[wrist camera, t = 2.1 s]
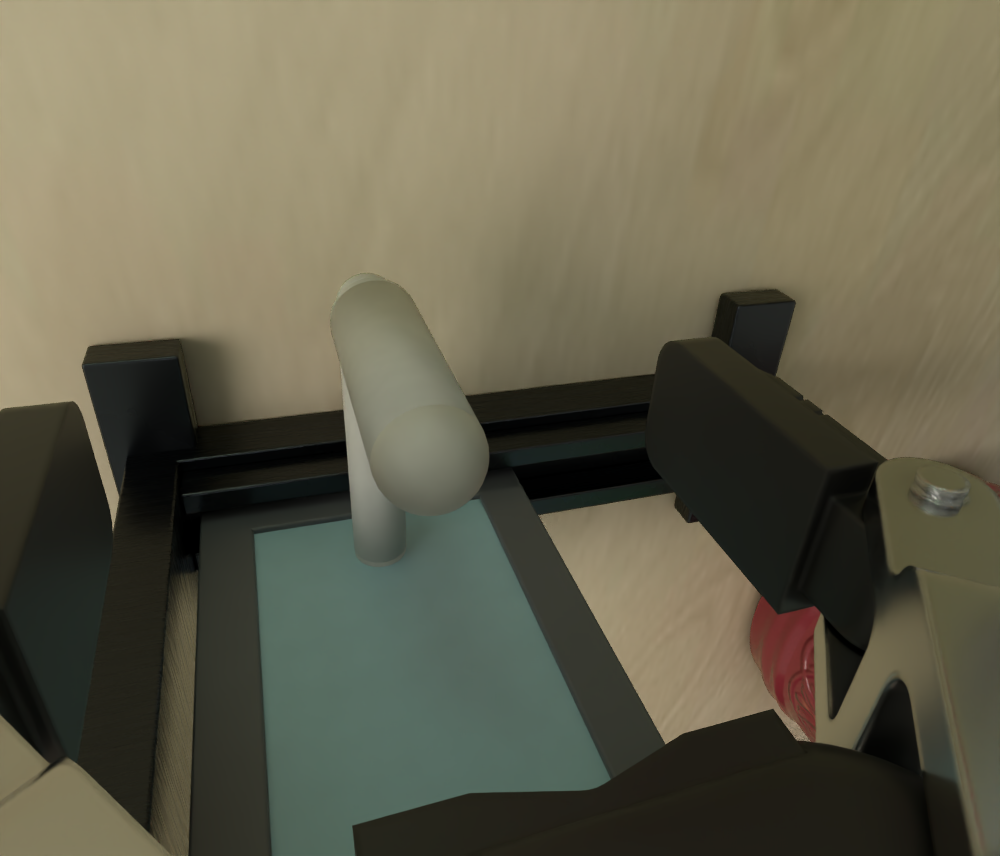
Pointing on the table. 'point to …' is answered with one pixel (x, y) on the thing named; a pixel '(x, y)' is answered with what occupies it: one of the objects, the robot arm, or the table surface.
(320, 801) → the window pane
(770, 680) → the kitchen canister
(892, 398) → the table surface
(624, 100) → the table surface
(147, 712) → the window frame
